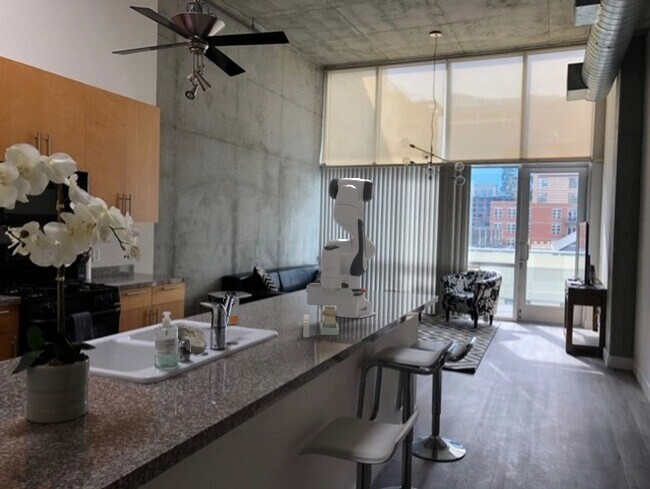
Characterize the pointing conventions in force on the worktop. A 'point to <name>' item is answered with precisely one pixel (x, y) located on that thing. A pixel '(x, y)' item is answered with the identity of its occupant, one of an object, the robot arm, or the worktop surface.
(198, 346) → the long grey stone
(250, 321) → the worktop surface
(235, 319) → the skincare box
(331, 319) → the bar
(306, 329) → the door edge
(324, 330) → the pale green tray
